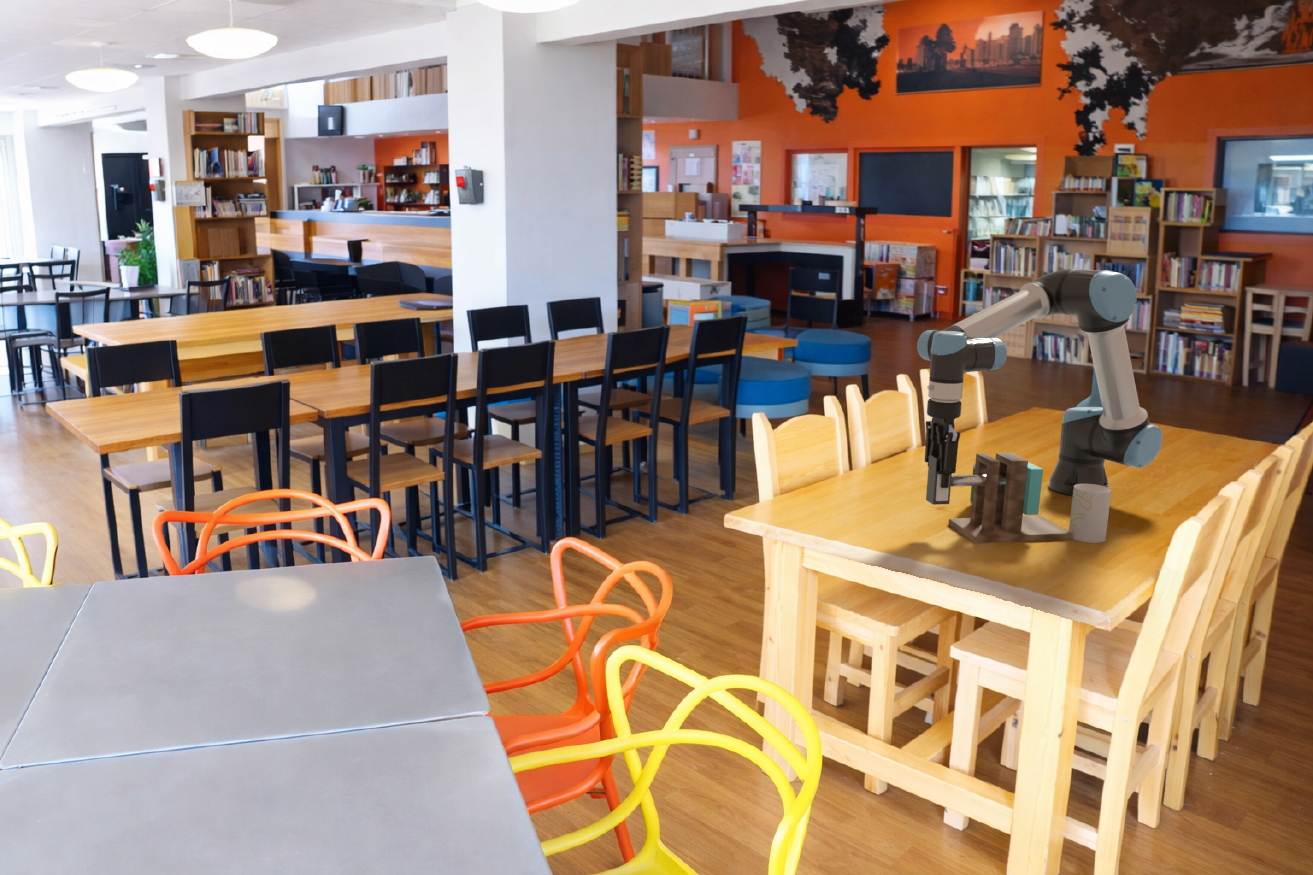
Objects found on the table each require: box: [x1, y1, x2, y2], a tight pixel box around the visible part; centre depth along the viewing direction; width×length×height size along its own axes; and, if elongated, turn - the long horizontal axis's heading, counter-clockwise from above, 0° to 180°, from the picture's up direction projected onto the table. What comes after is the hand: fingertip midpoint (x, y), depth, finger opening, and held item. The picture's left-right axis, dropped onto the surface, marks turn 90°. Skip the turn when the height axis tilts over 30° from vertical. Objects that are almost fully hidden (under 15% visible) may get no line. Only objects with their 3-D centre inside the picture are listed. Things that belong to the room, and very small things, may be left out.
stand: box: [948, 452, 1072, 544], centre depth 247 cm, size 24×14×18 cm, turn 100°
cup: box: [1068, 484, 1112, 544], centre depth 245 cm, size 8×8×12 cm
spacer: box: [1023, 461, 1044, 516], centre depth 247 cm, size 3×11×11 cm, turn 10°
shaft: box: [925, 454, 1006, 506], centre depth 244 cm, size 23×4×11 cm, turn 100°
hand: (937, 497), depth 244 cm, fingers closed on shaft, 4 cm apart
